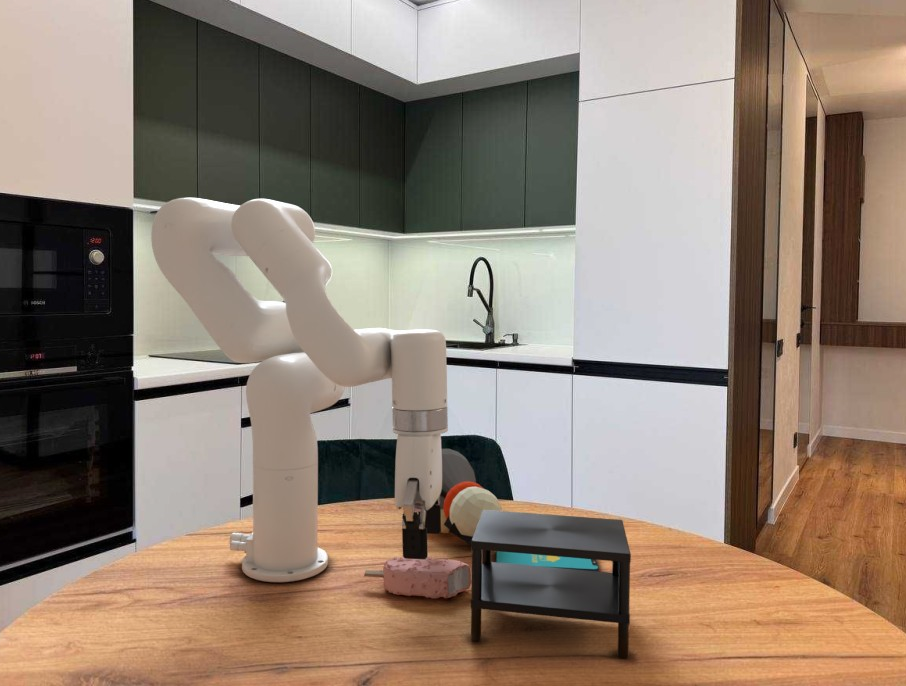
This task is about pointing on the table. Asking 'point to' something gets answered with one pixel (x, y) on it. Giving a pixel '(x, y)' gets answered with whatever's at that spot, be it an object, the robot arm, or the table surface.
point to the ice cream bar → (424, 577)
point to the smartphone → (547, 561)
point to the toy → (462, 497)
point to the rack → (551, 569)
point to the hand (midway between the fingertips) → (422, 544)
